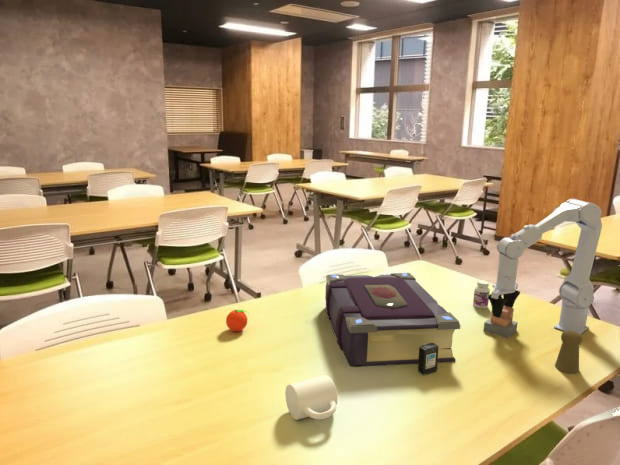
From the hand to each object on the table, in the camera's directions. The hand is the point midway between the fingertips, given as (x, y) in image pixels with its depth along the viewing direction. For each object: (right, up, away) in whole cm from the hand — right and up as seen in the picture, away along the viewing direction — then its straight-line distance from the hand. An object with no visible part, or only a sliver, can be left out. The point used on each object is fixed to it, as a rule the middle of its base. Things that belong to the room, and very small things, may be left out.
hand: (502, 313), depth 153 cm
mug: (-63, -16, -45) cm, 79 cm away
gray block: (0, -6, +2) cm, 7 cm away
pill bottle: (+1, -1, +22) cm, 22 cm away
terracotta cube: (0, -3, +1) cm, 3 cm away
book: (-40, -6, 0) cm, 41 cm away
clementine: (-87, -5, -1) cm, 87 cm away
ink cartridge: (-31, -12, -25) cm, 41 cm away
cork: (+9, -12, -22) cm, 26 cm away
